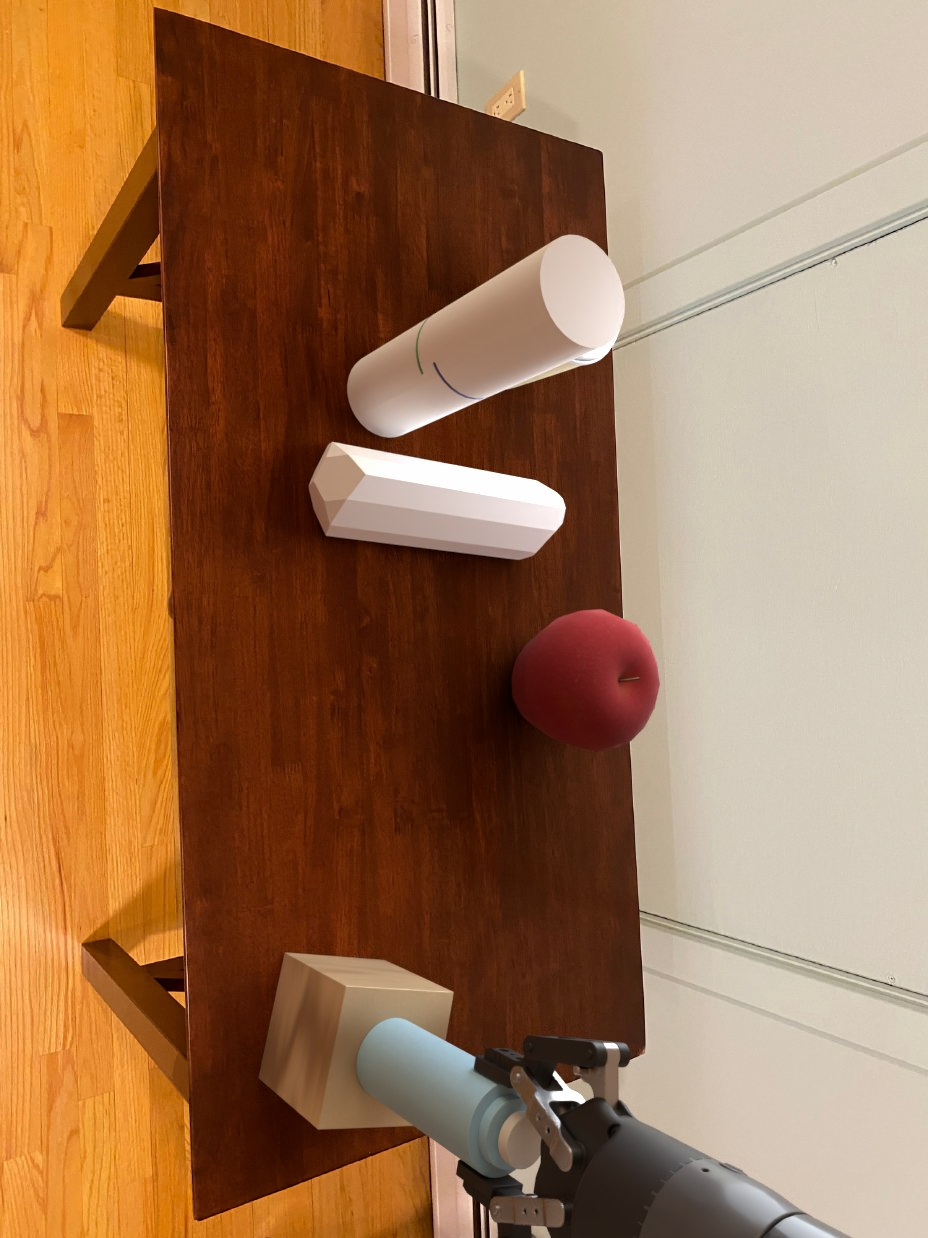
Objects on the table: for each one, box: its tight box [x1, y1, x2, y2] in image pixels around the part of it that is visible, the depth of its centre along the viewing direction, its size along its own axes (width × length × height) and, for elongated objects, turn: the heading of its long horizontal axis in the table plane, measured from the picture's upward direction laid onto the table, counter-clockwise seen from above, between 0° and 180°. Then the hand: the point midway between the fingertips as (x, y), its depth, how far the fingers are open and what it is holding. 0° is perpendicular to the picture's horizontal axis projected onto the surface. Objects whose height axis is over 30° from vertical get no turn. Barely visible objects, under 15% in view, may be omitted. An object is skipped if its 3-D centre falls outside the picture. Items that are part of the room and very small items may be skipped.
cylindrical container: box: [346, 234, 626, 439], centre depth 69 cm, size 7×7×25 cm
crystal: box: [308, 441, 567, 561], centre depth 79 cm, size 7×7×24 cm
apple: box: [511, 608, 661, 753], centre depth 81 cm, size 12×12×13 cm
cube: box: [258, 952, 454, 1131], centre depth 68 cm, size 9×9×10 cm
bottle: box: [356, 1018, 542, 1178], centre depth 58 cm, size 5×5×15 cm
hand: (478, 1113), depth 55 cm, fingers closed on bottle, 5 cm apart
